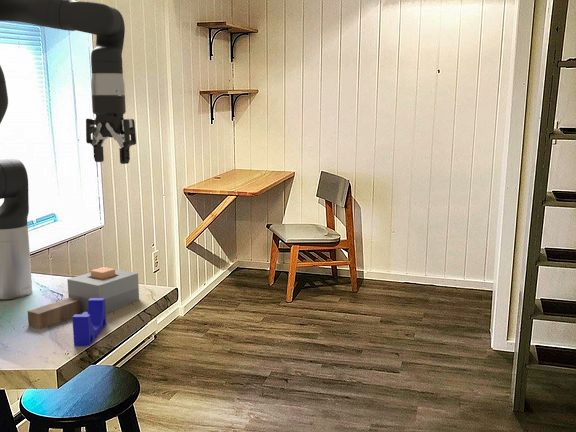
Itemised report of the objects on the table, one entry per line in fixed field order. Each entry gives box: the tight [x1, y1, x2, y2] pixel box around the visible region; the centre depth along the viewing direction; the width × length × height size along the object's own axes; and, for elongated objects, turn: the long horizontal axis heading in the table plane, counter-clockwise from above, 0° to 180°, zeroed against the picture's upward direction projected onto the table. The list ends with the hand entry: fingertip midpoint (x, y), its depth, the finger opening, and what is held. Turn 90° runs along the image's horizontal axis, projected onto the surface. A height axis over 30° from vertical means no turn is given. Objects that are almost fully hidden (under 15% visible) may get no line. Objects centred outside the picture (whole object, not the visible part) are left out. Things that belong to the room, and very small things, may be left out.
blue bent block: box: [71, 298, 107, 347], centre depth 129 cm, size 12×4×6 cm, turn 1°
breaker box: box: [67, 267, 140, 315], centre depth 148 cm, size 10×12×7 cm
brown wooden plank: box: [27, 297, 82, 330], centre depth 138 cm, size 4×4×11 cm
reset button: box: [90, 266, 116, 280], centre depth 147 cm, size 4×4×3 cm
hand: (111, 162), depth 153 cm, fingers open, 8 cm apart
